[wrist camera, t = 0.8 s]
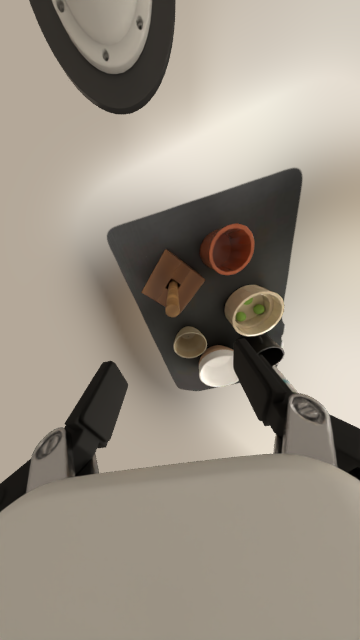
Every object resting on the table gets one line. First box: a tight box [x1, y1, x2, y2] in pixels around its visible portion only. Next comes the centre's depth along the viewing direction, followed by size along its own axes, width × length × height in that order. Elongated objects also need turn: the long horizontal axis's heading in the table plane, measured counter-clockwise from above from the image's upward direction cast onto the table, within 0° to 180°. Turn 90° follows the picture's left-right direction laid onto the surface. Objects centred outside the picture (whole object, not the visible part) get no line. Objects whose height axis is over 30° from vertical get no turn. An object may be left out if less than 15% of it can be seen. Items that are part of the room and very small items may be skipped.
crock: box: [200, 223, 255, 275], centre depth 28 cm, size 8×8×10 cm
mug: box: [242, 333, 284, 367], centre depth 42 cm, size 9×12×9 cm
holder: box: [142, 249, 205, 315], centre depth 32 cm, size 11×11×7 cm
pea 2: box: [244, 297, 253, 305], centre depth 36 cm, size 3×3×3 cm
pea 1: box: [235, 312, 246, 322], centre depth 39 cm, size 3×3×3 cm
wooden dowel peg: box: [165, 278, 180, 317], centre depth 26 cm, size 2×2×20 cm
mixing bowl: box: [224, 285, 284, 336], centre depth 37 cm, size 13×13×7 cm
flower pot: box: [174, 326, 207, 358], centre depth 41 cm, size 10×10×7 cm
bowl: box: [199, 345, 239, 387], centre depth 47 cm, size 16×16×8 cm
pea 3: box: [253, 304, 265, 314], centre depth 38 cm, size 3×3×3 cm
